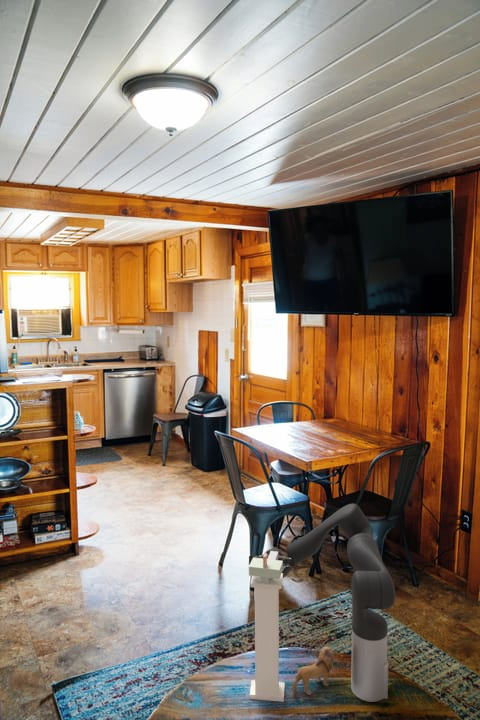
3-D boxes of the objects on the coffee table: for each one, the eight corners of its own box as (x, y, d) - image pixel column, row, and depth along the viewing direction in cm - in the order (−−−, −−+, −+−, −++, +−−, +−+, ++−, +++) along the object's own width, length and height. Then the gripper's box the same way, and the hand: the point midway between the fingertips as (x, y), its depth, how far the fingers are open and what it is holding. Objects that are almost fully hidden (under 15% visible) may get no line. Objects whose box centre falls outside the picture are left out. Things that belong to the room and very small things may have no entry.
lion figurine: (324, 669, 155) (324, 640, 154) (338, 679, 151) (338, 649, 150) (286, 693, 146) (286, 662, 144) (300, 705, 141) (301, 673, 140)
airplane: (288, 558, 152) (288, 534, 152) (279, 585, 138) (279, 558, 138) (260, 555, 154) (260, 531, 153) (248, 582, 140) (248, 555, 140)
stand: (284, 685, 148) (284, 573, 145) (283, 702, 143) (283, 585, 139) (251, 683, 150) (250, 571, 146) (249, 699, 144) (248, 583, 140)
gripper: (295, 575, 174) (295, 575, 159) (251, 573, 176) (246, 573, 161) (295, 551, 177) (295, 548, 162) (252, 549, 179) (247, 546, 164)
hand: (271, 560), depth 162 cm, fingers open, 8 cm apart
